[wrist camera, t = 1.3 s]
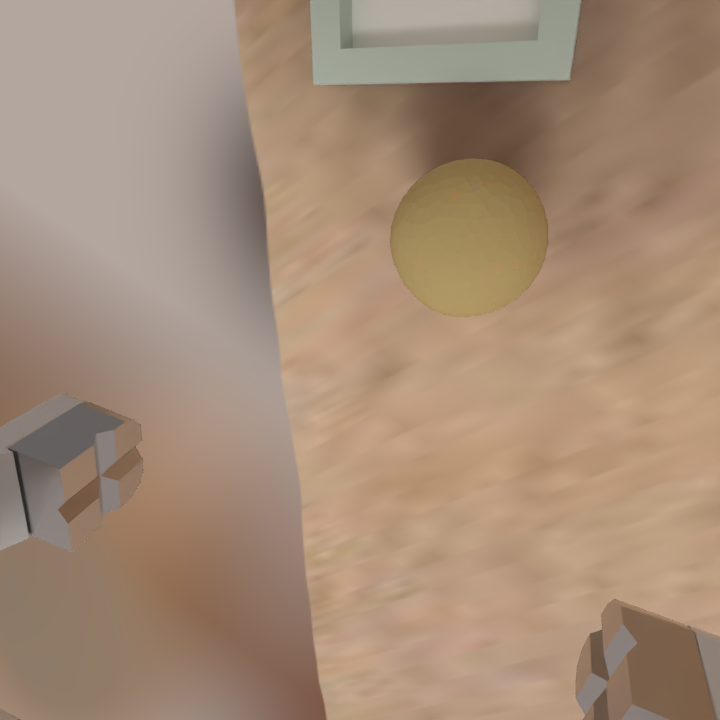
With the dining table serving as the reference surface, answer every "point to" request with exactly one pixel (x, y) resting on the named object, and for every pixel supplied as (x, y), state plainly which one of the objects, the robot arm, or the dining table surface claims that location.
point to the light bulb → (469, 237)
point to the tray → (442, 41)
